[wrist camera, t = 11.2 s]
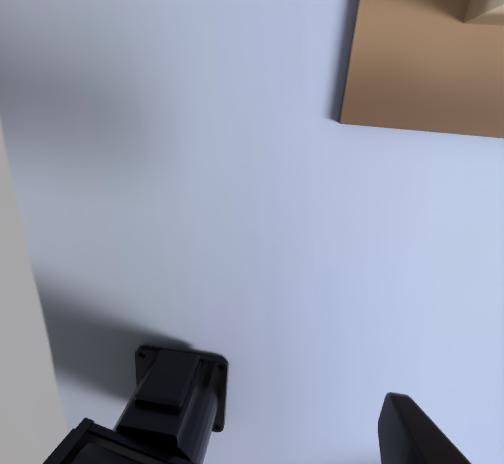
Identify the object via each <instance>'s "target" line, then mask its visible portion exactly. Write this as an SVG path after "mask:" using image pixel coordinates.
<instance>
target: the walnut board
mask: <svg viewBox="0 0 504 464" xmlns="http://www.w3.org/2000/svg"><path fill="white" fill-rule="evenodd" d="M468 4H469V0H359V1H358V7H357V13H356V19H355V25H354V32H353V38H352V44H351V50H350V56H349V63H348V69H347V75H346V81H345V87H344V94H343V100H342V106H341V112H340V118H339V123H340V124H351V125H362V126H373V127H384V128H395V129H407V130H418V131H429V132H440V133H451V134H463V135H474V136H485V137H496V138H504V26H500V25H483V24H465V23H464V19H465V15H466V12H467V8H468Z"/></svg>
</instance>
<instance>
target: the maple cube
mask: <svg viewBox="0 0 504 464" xmlns="http://www.w3.org/2000/svg"><path fill="white" fill-rule="evenodd" d="M464 23H465V24H483V25H500V26H504V0H469V4H468V8H467V12H466V15H465V19H464Z"/></svg>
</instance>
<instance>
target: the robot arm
mask: <svg viewBox="0 0 504 464" xmlns="http://www.w3.org/2000/svg"><path fill="white" fill-rule="evenodd" d="M142 352H143V353H144V354H143V353H142ZM135 362H136V380H137V388H136V390H135V392H134V394H133V395H132V397H131V399H130V400H129V402H128V404H127V406H126V407H125V409H124V411H123V413H122V414H121V416H120V418H119V420H118V421H117V423H116V425H115V427H114V428H113V430H111V429H108V428H106V427H103V426H101V425H98V424H95V423H94V421H93V420H90V419H88V418H84V419H83V420H82V422H81V423H80V424H79V425H78V426H77V427H76V429H74V428H73V429H72V430H71V432H70V433H69V434H68V435H67V436H66V437H65V439H64V440H63V441H62V442H61V443H60V444H59V445H58V447H57V448H56V449H55V450H54V451H53V452H52V454H51V455H50V456H49V457H48V458H47V459H46V460H45V462H44V463H43V464H203V461H204V457H205V453H206V450H207V446H208V442H209V439H210V435H211V431H213V432H221V431H222V430H223V428H224V424H225V411H226V396H227V382H228V367H229V364H228V361H227V360H226V359H224V358H220V357H214V356H207V355H201V354H195V353H188V352H182V351H176V350H169V349H163V348H157V347H150V346H139V348H138V349H137V350H136V352H135ZM219 365H222V366H223V367H221V366H219ZM378 437H379V446H380V455H381V464H471V463H470V462H469V460H468V459H467V458H466V457H465V456H464V455H463V454H462V453H461V452H460V451H459V450H458V448H457V447H456V446H455V445H454V444H453V443H452V442H451V441H450V440H449V439H448V438H447V437H446V435H445V434H444V433H443V432H442V431H441V430H440V429H439V428H438V427H437V426H436V425H435V423H434V422H433V421H432V420H431V419H430V418H429V417H428V416H427V415H426V414H425V413H424V411H423V410H422V409H421V408H420V407H419V406H418V405H417V404H416V403H415V402H414V401H413V400H412V398H410V397H409V396H408V395H405V394H399V393H393V392H389V393H387V395H386V396H385V399H384V403H383V406H382V410H381V413H380V417H379V421H378Z"/></svg>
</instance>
